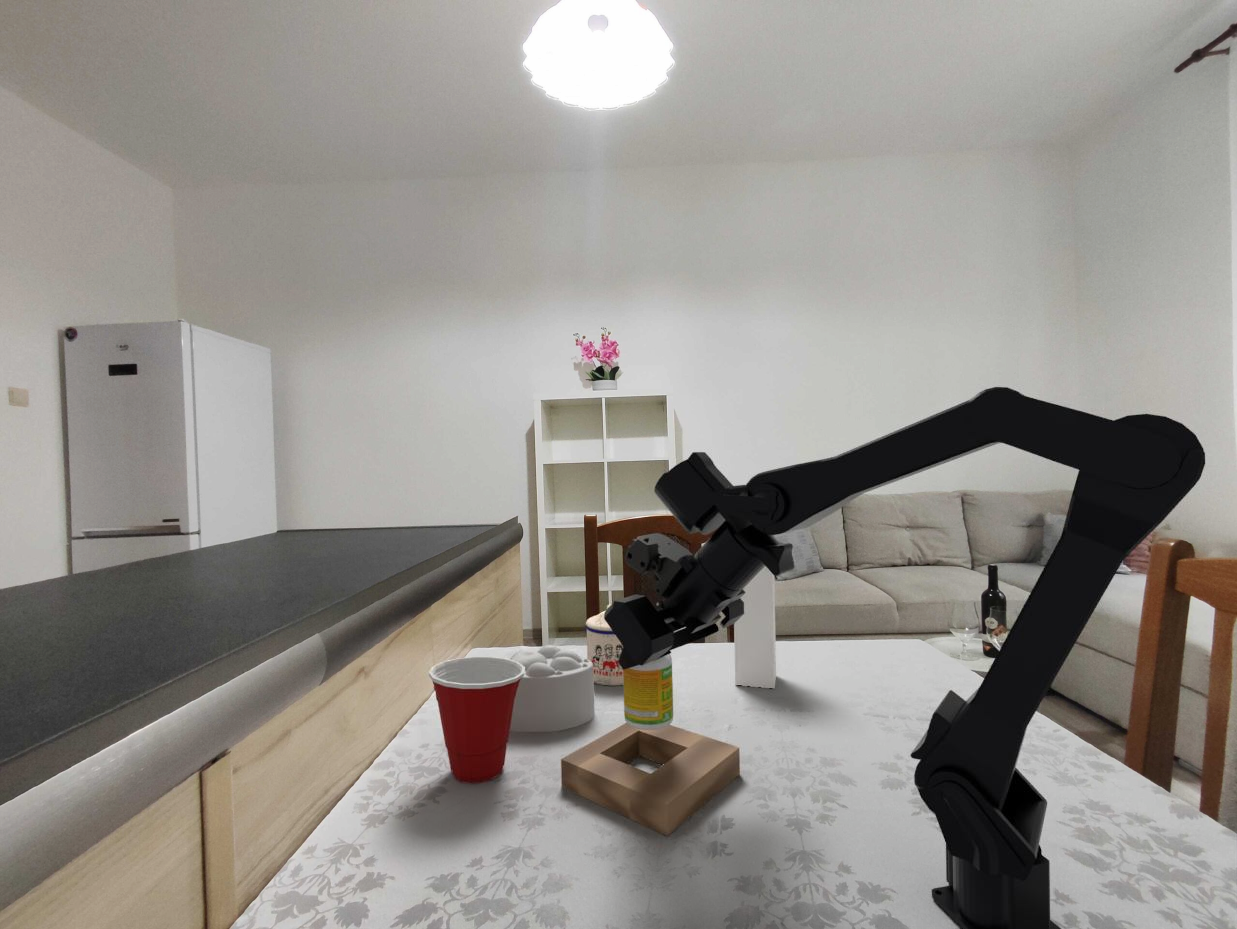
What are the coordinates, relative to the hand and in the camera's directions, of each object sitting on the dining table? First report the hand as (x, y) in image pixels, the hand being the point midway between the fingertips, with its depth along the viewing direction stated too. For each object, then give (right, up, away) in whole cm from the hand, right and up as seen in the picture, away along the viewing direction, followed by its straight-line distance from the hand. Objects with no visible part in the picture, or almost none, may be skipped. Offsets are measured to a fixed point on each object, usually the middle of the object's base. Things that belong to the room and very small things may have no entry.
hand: (637, 658), depth 67 cm
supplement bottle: (+1, -7, -1) cm, 7 cm away
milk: (+20, -13, +28) cm, 36 cm away
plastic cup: (-18, -14, +2) cm, 23 cm away
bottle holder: (+1, -13, 0) cm, 13 cm away
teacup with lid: (-1, -13, +31) cm, 34 cm away
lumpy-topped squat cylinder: (-12, -14, +17) cm, 25 cm away
